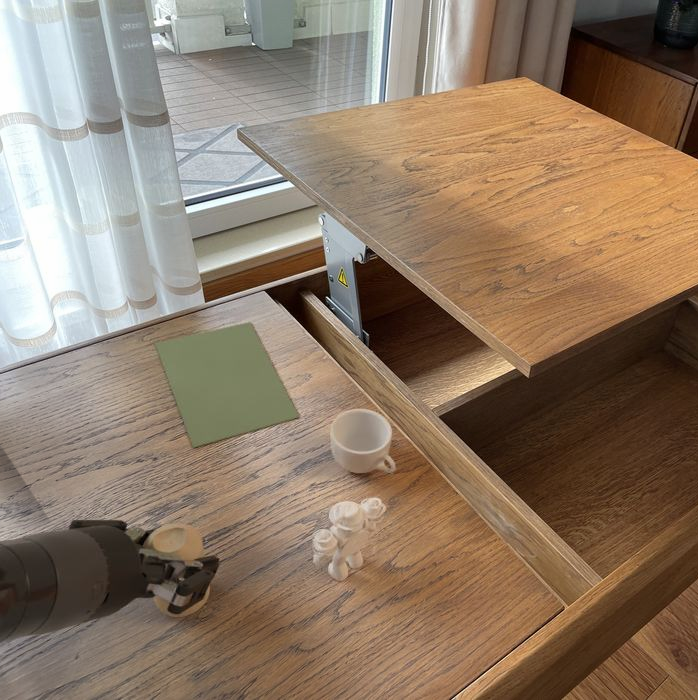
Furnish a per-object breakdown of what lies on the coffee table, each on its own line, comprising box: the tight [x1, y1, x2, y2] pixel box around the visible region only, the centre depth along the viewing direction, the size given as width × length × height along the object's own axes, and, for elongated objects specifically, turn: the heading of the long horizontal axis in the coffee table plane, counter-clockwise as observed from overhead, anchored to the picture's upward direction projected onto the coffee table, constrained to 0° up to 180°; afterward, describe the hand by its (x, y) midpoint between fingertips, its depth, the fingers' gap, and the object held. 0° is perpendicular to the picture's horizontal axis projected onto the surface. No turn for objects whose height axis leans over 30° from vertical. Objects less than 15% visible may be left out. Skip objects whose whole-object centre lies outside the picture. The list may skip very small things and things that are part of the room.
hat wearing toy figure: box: [311, 495, 387, 582], centre depth 77 cm, size 9×4×12 cm, turn 135°
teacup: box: [329, 408, 396, 474], centre depth 91 cm, size 10×8×5 cm
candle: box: [143, 522, 211, 618], centre depth 72 cm, size 6×6×10 cm
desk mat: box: [154, 321, 300, 449], centre depth 101 cm, size 14×22×1 cm, turn 30°
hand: (189, 552), depth 73 cm, fingers closed on candle, 5 cm apart
